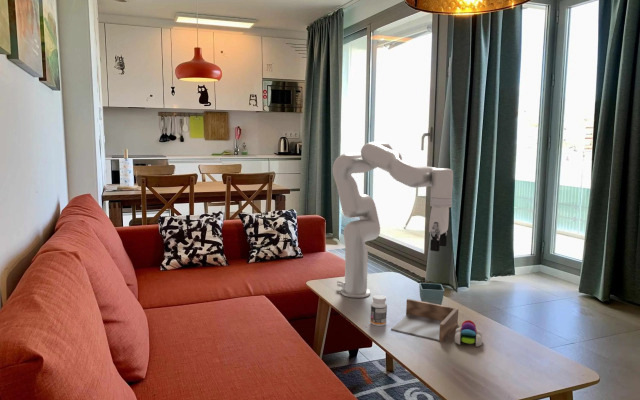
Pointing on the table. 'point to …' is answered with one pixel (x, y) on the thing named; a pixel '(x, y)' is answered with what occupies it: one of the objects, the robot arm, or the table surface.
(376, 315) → the pill bottle
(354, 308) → the table surface
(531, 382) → the table surface
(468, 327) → the rainbow petal toy
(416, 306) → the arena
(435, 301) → the flower pot
